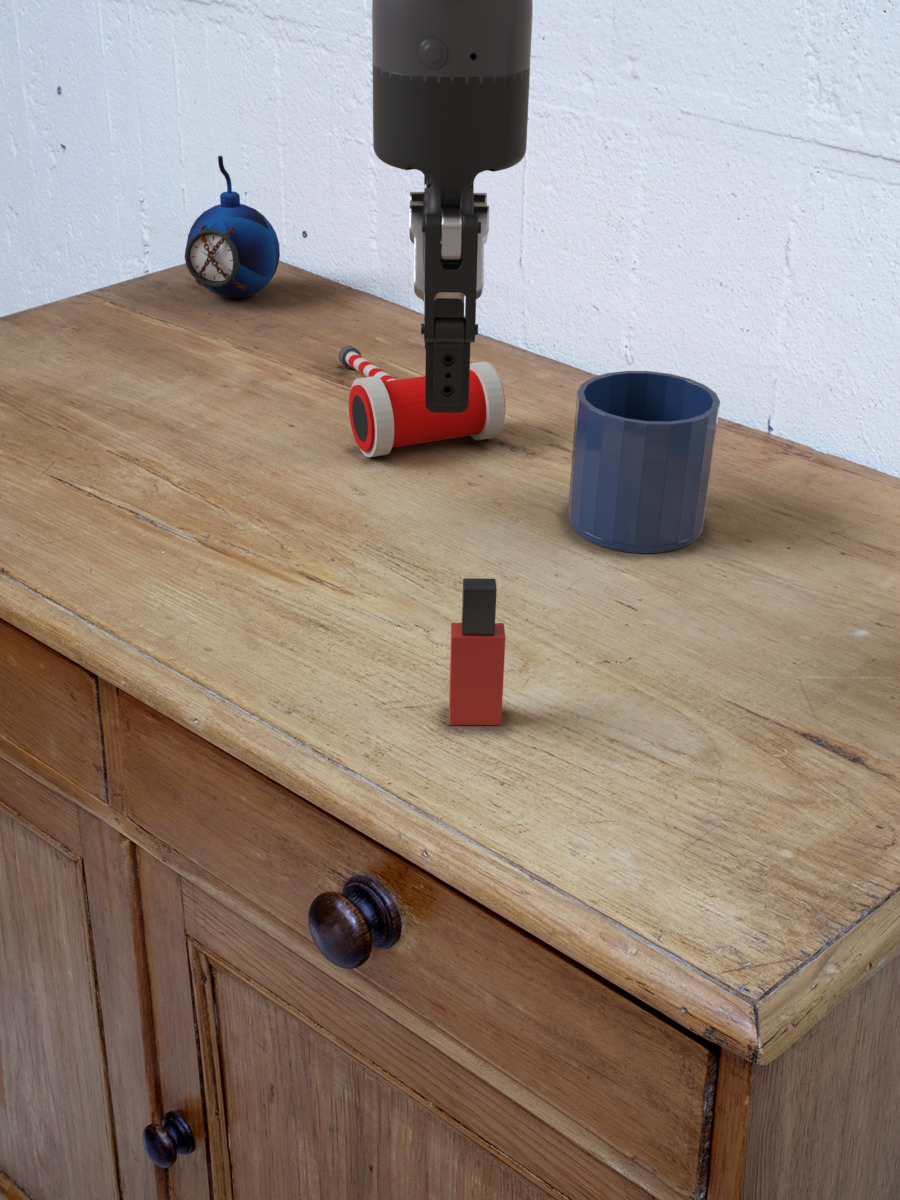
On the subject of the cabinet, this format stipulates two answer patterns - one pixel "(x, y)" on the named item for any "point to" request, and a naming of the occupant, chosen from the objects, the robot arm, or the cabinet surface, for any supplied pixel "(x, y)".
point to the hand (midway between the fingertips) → (445, 379)
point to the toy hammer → (417, 408)
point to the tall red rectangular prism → (477, 658)
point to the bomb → (232, 247)
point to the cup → (642, 460)
